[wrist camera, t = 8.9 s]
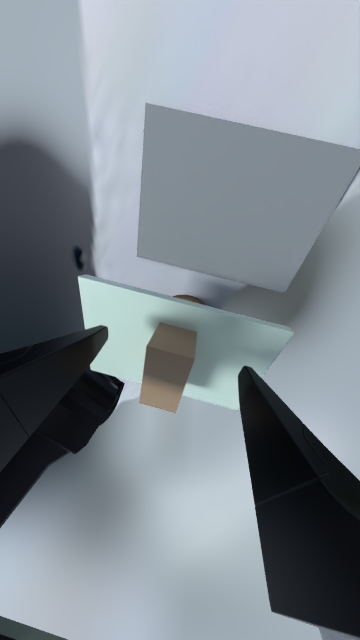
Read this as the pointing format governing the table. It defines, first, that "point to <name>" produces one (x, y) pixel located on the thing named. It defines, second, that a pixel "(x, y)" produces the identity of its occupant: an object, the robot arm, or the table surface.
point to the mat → (235, 196)
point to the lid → (176, 343)
